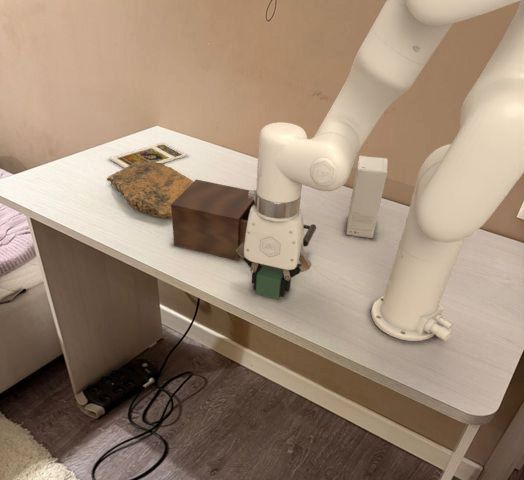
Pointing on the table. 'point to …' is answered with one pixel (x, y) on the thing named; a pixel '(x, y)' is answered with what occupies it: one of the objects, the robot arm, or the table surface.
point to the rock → (150, 187)
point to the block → (269, 281)
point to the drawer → (244, 225)
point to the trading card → (148, 155)
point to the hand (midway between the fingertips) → (270, 288)
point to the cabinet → (210, 218)
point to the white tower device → (366, 196)
